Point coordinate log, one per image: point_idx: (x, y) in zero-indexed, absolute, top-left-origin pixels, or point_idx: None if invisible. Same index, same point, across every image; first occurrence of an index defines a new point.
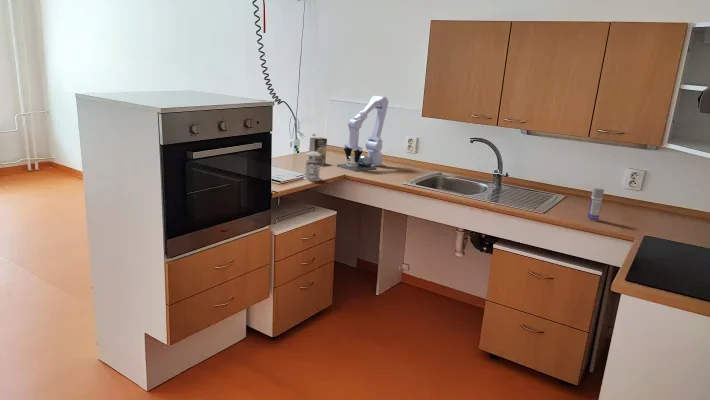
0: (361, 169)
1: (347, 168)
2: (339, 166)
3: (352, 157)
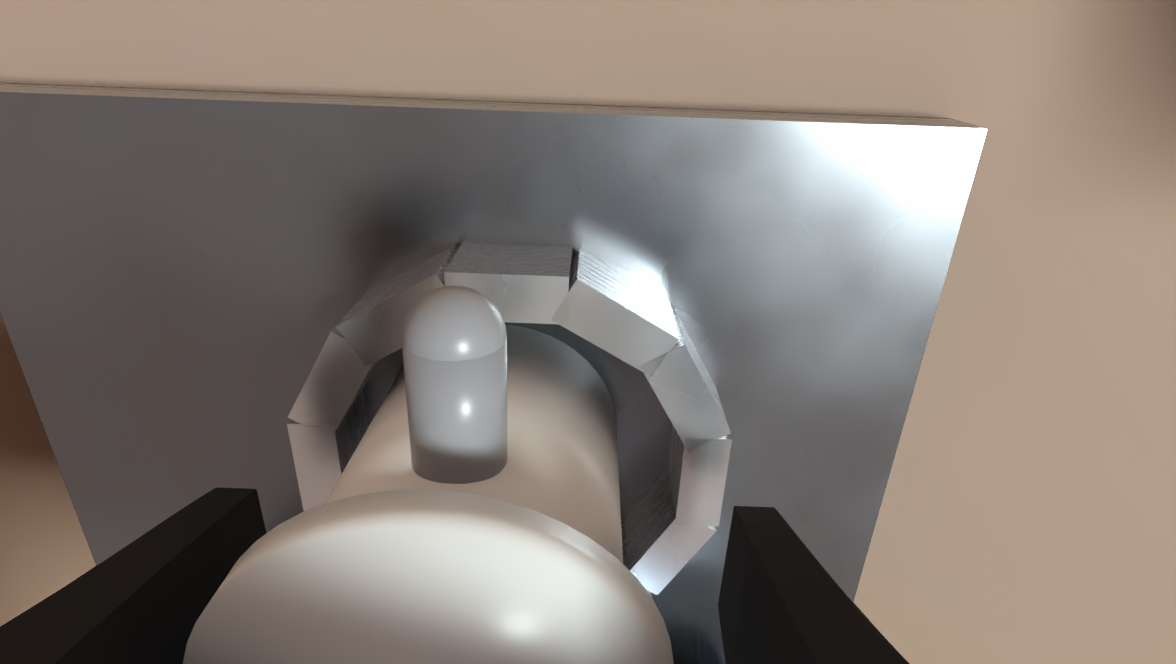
0: (37, 360)
1: (380, 101)
2: (819, 114)
3: (244, 561)
